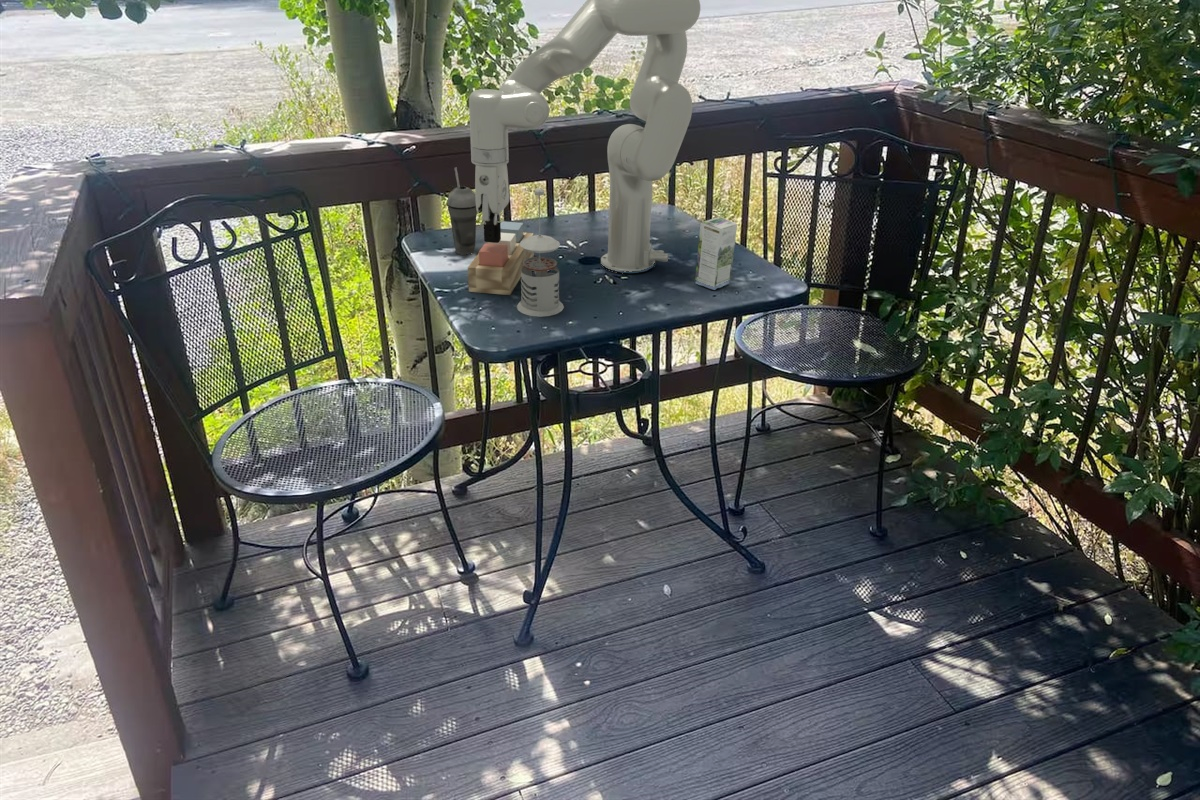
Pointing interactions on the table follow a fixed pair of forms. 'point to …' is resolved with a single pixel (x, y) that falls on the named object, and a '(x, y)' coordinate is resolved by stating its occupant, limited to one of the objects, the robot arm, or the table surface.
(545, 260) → the french press
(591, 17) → the robot arm
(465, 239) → the beverage cup
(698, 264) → the syrup box
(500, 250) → the red key
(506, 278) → the key box
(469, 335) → the table surface
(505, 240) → the white key
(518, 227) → the blue key
